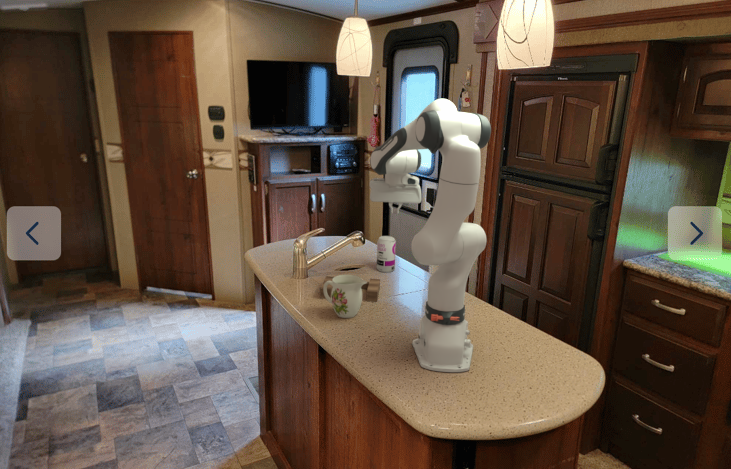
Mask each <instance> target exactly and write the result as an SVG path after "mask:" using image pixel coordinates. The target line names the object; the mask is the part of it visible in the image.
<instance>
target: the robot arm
mask: <svg viewBox="0 0 731 469" xmlns="http://www.w3.org/2000/svg"><path fill="white" fill-rule="evenodd" d="M491 134H492V127H491V123H490V120H489V119H488V118H487V116H485V115H482V114H480V113H476V112H465V111H458V109H457V107H456V105H455V104H454V102H452V101H451V100H449V99H447V98H437V99H435V100H433V101H432V102H430V103H429V104H428V105H427V106H425V108H424V109H423V110H422V111H421V112H420V114H419V115H418V116H417V117H416V118H415V119H414V120H412V121H411V122H410V123H408V124H406V125H405V126H403V127H401V128H399V129H397V130H396V131H395V132H394V133H393V134H391V135H390V136H389V137H388V138H387V140H385V141H384V142H383V143H382V145H380V146H377V147H376V148H374V149H373V151H372V152H371V154H370V159H369V160H370V162H369V164H370V167H371V169H372V171H374V173H376V174H377V175H379V176H382V175H384V177H373V178H371V179H370V180H369V188H370V194H369V200H370V201H371V202H373V203H375V202H376V203H377V202H378V203H388V206H389V208H390V210H391V214H392V215H393V214H396V215H398V214H400V209H401V208H402V206H403V204H420V203H421V202H422V189H421V188H422V187H421V186H420V178H419V177H417V176H415V175H412V174H413V173H416V172H417V171H418V170H419V169H420V168H421V166H422V154H421V152H420V151H419V150H428V151H429V152H430V153H431V154H432V155H434V154H436V153H437V152H438V151H439V152H440V154H441V157H442V160H441V162H442V163H441V167H440V173H439V180H438V185H437V192H436V198H435V199H436V200H435V203H434V205H433V206H434V207H433V208H432V211H431V213H430V215H429V216H428V219H427V221H426V222H425V224H424V226H422V228H421V229H420V230H419V231H418V232H417V233H416V234H415V235H414V236H413V238H412V240H411V253H412V255H413V258H414V260H415V261H416V262H418V264H420V265H423V266H438V267H437V268H436V270H434V272H433V273H432V274H431V275H430V276H429V279H428V284H427V285H428V286H427V288H428V290H427V300H426V302H425V306H424V310H425V311H424V312H425V313H424V314H425V315H424V316H422V317H421V318H420V319H419V330H418V338H415V339H413V340H412V344H411V345H412V347H413V350H414V352H415V354H416V357H417V360H418V363H419V366H420V367H421V368H424V369H426V370H430V371H434V372H441V373H443V372H444V373H463V372H467V371H469V370H470V369H471V364H472V357H473V352H474V344H473V343H471V341H472V340H471V339H469V338H468V336H470V332H471V331H470V330H469V328H468V326H469V321H468V320H466V319H465V318H466V316H465V315H466V305H465V297H466V296H465V295H466V289H467V288H466V287H467V281H468V278H469V276H470V273H471V270H472V268H473V265H475V264H474V263H475V261H476V260H477V258H478V257H479V256H480V254H481V253H482V252H483V251H484V250H485V249H486V246H487V242H488V240H487V235H486V231H485V230H484V228H483V227H482V226H481V225H480V224H477V223H474V222H473V223H472V222H465V220H466V218H467V217H468V216H469V215H471V214H472V213H473V211H474V210H475V208H476V202H477V198H478V190H479V185H480V177H481V167H482V166H481V163H482V159H481V158H482V157H481V156H482V154H481V149H484V147H486V146H487V145H488V143H489V141H490V138H491ZM394 203H396V204H398V206H397V208H395V207H393V204H394Z"/></svg>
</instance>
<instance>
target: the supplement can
mask: <svg viewBox="0 0 731 469" xmlns="http://www.w3.org/2000/svg"><path fill="white" fill-rule="evenodd" d="M376 242H377V243H376V245H377V246H376V269H377V270H378V271H379V272H381V273H392V272H393V271H394V270H395V269H396V252H397V251H396V246H397V244H396V243H397V241H396V239H395V237H393V236H391V235H381V236H379V237H378V239H377V241H376Z"/></svg>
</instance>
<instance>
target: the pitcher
mask: <svg viewBox="0 0 731 469" xmlns="http://www.w3.org/2000/svg"><path fill="white" fill-rule="evenodd" d="M333 277H334V278H333V279H332V281H327V282H325V284H324V288H323V291H324V296H325V298H326V299H325V300H326V301H327V302H328V303H330V304H331V305H332V308H333V311H334V312H335V314H336V315H337V317H339V318H343V319H351V318H354V317H355V316H356V315H357V314H358V313H359V311H360V309H361V306H362V302H363V289H361V287H362V285H364V284H366V283H367V282H368V281H366V280H365V279H363V278H362V277H361V276H358V275H355V274H339V275H336V276H333ZM328 284H330V285H332V286H333V289H332V292H331V298H330V297H329V296H328V293H327V286H328Z"/></svg>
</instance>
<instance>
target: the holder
mask: <svg viewBox="0 0 731 469" xmlns="http://www.w3.org/2000/svg"><path fill="white" fill-rule="evenodd" d="M334 277H335V276H332V275H331V276H327V275H326V277H325V279H324V280H323V282H322V284H321V287H320V288H319V289H320V290H319V299H322V300H327V299H326V298H325V296H324V291H323V288H324V284H325V282H327V281H332V279H333V278H334ZM380 288H381V279H379V278H370V279H369V281H367V283H366V284H364V285H362V287H361V290H366V302H373V303H374V302H375V303H376V302H377V303H378V299H379V294H380V290H381V289H380ZM332 289H333V286H332V285H330V284H328V286H327V293H328V296H329V297H330V298H331V292H332Z"/></svg>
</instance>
